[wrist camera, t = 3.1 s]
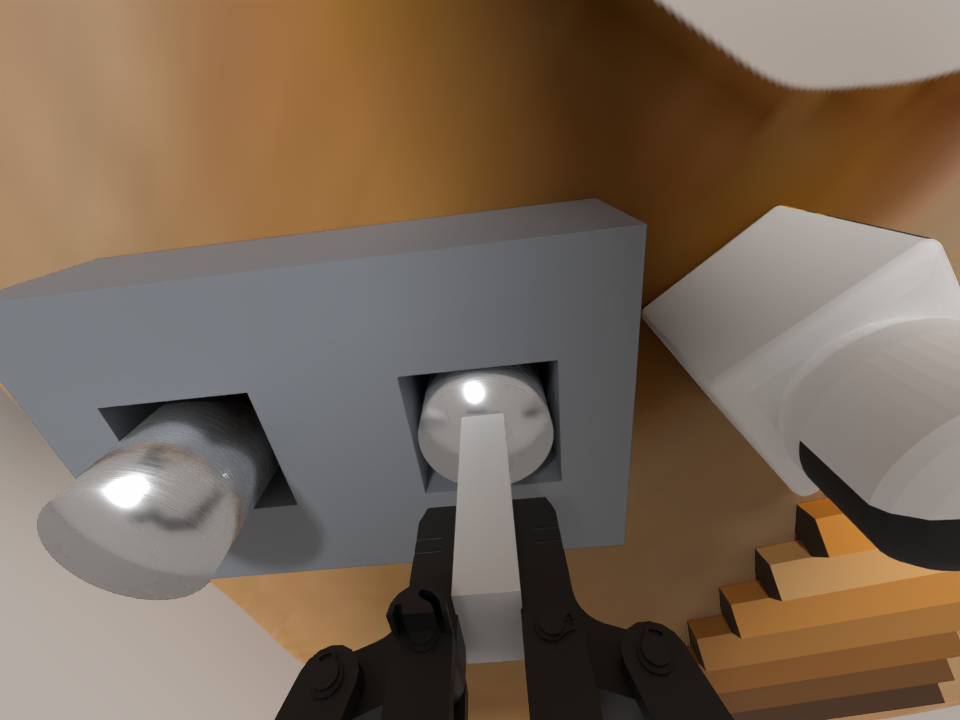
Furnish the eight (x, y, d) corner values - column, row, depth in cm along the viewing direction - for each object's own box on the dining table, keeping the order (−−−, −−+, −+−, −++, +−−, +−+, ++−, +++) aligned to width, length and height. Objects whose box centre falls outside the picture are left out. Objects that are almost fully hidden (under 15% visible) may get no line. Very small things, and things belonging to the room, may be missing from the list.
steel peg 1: (129, 398, 16) (-2, 498, 12) (255, 385, 16) (169, 481, 11) (187, 493, 18) (96, 605, 14) (297, 482, 18) (239, 593, 14)
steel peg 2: (422, 329, 19) (406, 388, 14) (533, 316, 19) (551, 372, 14) (440, 418, 21) (430, 493, 17) (538, 409, 21) (555, 481, 16)
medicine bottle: (844, 313, 20) (1256, 511, 9) (710, 400, 22) (922, 637, 12) (777, 200, 18) (1235, 295, 7) (635, 310, 20) (817, 508, 9)
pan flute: (615, 710, 40) (902, 665, 36) (626, 756, 37) (940, 713, 33) (558, 542, 28) (967, 454, 25) (568, 589, 25) (1034, 497, 22)
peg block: (96, 259, 18) (-57, 308, 13) (595, 197, 17) (646, 224, 12) (223, 489, 25) (156, 583, 20) (591, 454, 24) (624, 544, 19)
